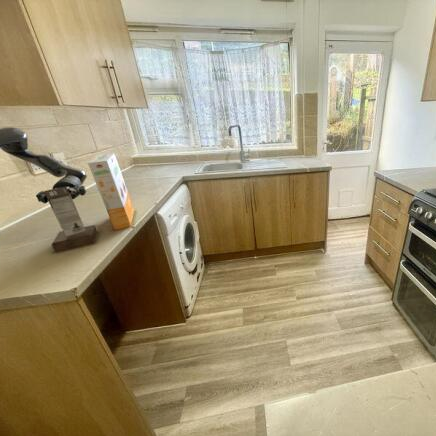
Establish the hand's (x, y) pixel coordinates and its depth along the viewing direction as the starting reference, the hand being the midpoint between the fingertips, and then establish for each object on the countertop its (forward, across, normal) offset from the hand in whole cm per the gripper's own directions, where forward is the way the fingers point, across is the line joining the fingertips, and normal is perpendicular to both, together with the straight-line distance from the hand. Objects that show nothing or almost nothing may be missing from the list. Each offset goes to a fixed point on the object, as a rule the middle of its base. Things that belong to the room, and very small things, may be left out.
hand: (58, 198), depth 90 cm
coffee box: (-2, 0, -14) cm, 14 cm away
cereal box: (-17, -16, -19) cm, 30 cm away
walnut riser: (-2, 0, -19) cm, 19 cm away
